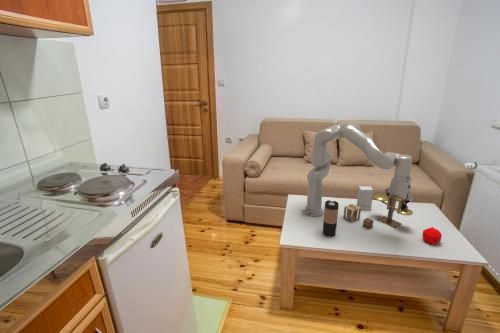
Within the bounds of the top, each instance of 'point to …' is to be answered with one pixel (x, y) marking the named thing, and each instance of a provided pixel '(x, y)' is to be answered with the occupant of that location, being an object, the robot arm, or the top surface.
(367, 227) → the block
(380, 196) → the balance
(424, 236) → the ball
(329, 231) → the travel mug
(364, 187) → the skincare box
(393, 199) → the cover right
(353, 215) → the wooden slatted crate
